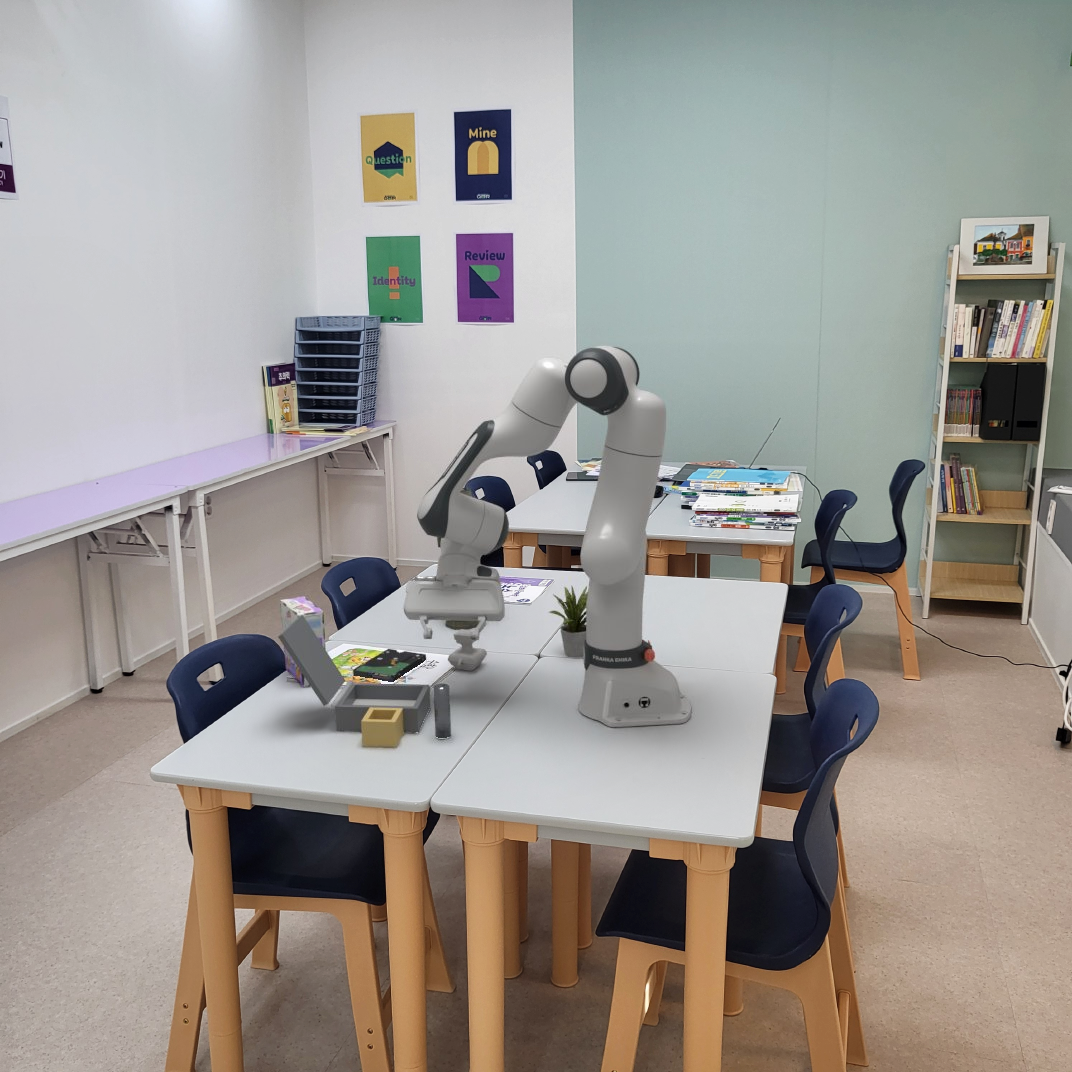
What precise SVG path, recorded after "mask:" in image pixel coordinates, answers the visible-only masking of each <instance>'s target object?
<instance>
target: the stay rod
mask: <svg viewBox="0 0 1072 1072" xmlns="http://www.w3.org/2000/svg"><path fill="white" fill-rule="evenodd" d="M450 692H451V691H450V685H449V684H447V683H437V684H435V685H433V708H434V710H433V711H434V729H435V730H434V734H435V736H436V737H438V738H447V737H450V736H451V737H452V722H451V721H452V720H451V719H452V718H451V714H452V713H451V693H450ZM436 737H435V738H436ZM451 737H450V738H451Z"/></svg>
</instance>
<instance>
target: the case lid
mask: <svg viewBox="0 0 1072 1072" xmlns="http://www.w3.org/2000/svg"><path fill="white" fill-rule="evenodd" d="M277 637H278V640H279V641H280V642H281V645H283V648H284V647H285V648H286V650H287V651H288V653H289V654H290V656H291V657H292V659H293V660H294V662H295V663H296V665H297V666H298V668H299V669H300V671H301V672H302V674H303V675H304V677H305V678H306V680H307V681H308V683H309V684H310V686H309V687H310V688H311V689H312V691H313V692H314V694H315V695H316V697H317V698H318V700H319V701H320V703H321V705H323V707H326V706H327V705H329V703H330V702H331V701H332V699H333V698H334V697H335V695H336V694H337V693H338V691H339V690H340V689H341V687H342V686H343V685H344V683H345V681H346V679H345V677H344V676H343V675H342V673H341V672H340V670H339V669H338V667H337V666H336V664H335V662H334V661H333V659H332V658H331V656H330V655H329V653H328V652H327V650H325V648H326V647H325V648H324V647H323V645H322V644H321V642H320V641H319V639H318V638H317V636H316V635H315V633H314V632H313V630H312V629H311V627H310V625H309V624H308V622H307V621H306V619H305V618H304V616H303V615H301V616H299V617H298V618H297V619H296V620H295V621H294V622H293V623H292V624H291V625H290V626H289V627H288V628H287V629H286V630H285V631H284V632H283V631H282V632H281V633H280V634H279V635H278V636H277Z"/></svg>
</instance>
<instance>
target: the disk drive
mask: <svg viewBox="0 0 1072 1072" xmlns="http://www.w3.org/2000/svg"><path fill="white" fill-rule="evenodd" d="M425 660H426V661H427V654H426V653H418V652H411V651H406V650H404V651H402V652H399V651H397V649H392V648H388V649H386V650H384V651H382V652H380V653H378V655H377V654H376V655H375V656H374V657H372V658H370V659H369V660H366V661H365V662H364V663H362V664H361V665H358V666H357V667H355V668H354V669H352V675H353V676H360V677H365V678H373V679H378V680H382V681H388V682H394V681H395V680H397V679H398V678H400V677H401V676H403V675H404V674H405V673H407V672H409V671H410V670H412V669H413V668H415V667H417V666H418V665H420V664H421V663H423V662H424V661H425ZM353 676H352V677H353Z"/></svg>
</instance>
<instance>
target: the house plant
mask: <svg viewBox="0 0 1072 1072" xmlns="http://www.w3.org/2000/svg"><path fill="white" fill-rule="evenodd" d="M588 587H589V584H588V585H587V586H585V587H584V589H583V591H582V593H581V594H580V596H579V598H578V600H577V597H576V593H575V590H574V587H573V586H571V592H570V591H569V589H568V588H567V587H566V586H564V596H565V601H563V599H561V598H559V597H558V596H557V595H555V594H553V597H555V598H556V600H557V602H558V605H559V606H560V607H561V608H562V609H563V612H564V614H565V615H564V614H563V613H561V612H559V611H558V610H551V611H548V613H549V614H552V615H553V614H554V615H557V616H559V617H561V618H562V619H563V621H564V622H563V623H562V624H563V625H561V626H560V628H559V629H560V634H561V639H562V640H561V641H562V646H563V651H564V655H565V656H567V657H569V658H582V657H583V655H584V654H583V651H584V642H585V640H586V602H587V596H588ZM565 616H566V617H565Z"/></svg>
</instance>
